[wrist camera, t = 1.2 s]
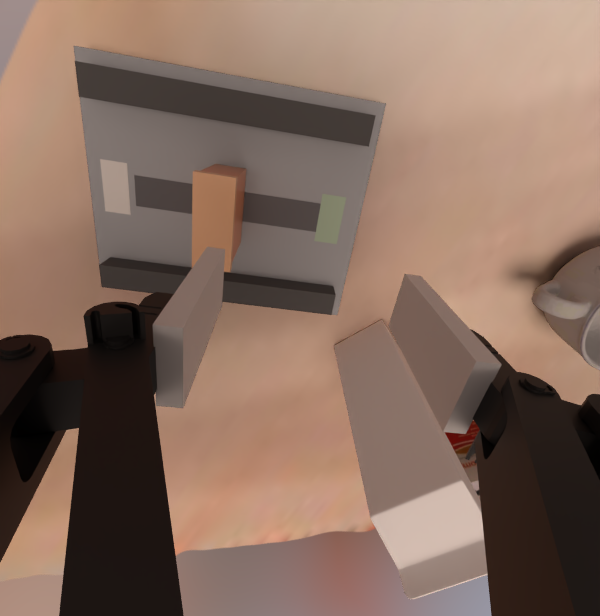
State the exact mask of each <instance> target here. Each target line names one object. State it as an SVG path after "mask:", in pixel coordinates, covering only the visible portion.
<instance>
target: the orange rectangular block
mask: <svg viewBox="0 0 600 616" xmlns="http://www.w3.org/2000/svg"><path fill="white" fill-rule="evenodd" d="M245 181H246V169H245V168H239V167H232V166H226V165H220V164H214V165H212V166H210V167H207V168H205V169H203V170H201V171H199V170H195V171H193V186H192V268H193V266H194V265H195V263H196V262H197V261H198V259H199V258H200V256H201V255H202V253H203V252H204V251H205V249H206V248H207V247H213V248H220V249H225V262H224V272H230V271H231V269H232V262H233V260H234V257H235V255H236V252H237V250H238V248H239V245H240V243H241V233H242V220H243V207H244V194H245Z"/></svg>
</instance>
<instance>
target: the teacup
mask: <svg viewBox="0 0 600 616" xmlns="http://www.w3.org/2000/svg"><path fill="white" fill-rule="evenodd" d="M532 302H533V303H534V304H535V305H536V306H537V307H538V308H539V309H541V310H542V311H544V314H545V317H546V319H547V322H548V323H549V325H550V326H551V328H552V329H553V330H554V331H555V332H556V333H557V334H558V335H559V336H560V337H561V338H562V339H563V340H564V341H565V342H566V343H567V344H568V345H570V346H571V347H572V348H573V349H574V350H575V351H577V352H578V353H579V354H580V355H581V356H582V357H583V358H584V360H585V361H586V362H587V363H588V364H589V365H591V366H592V367H594V368H596V369H598V370H600V246H598V247H595V248H592V249H590V250H587V251H585V252H583V253H581V254H580V255H578V256H576V257H575V258H573V259H572V260H571V261H569V262H568V263H567V264H566V265H564V266H563V267H562V268H561V269H560V270H559V271H558V272H557V274H556V275H555V276H554V278H553V279H552V281H548V282H546V283H545V284H543V285H540V286H539V287H538V288H537V289H536V290H535V291H534V294H533V296H532Z"/></svg>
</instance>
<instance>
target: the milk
mask: <svg viewBox="0 0 600 616" xmlns="http://www.w3.org/2000/svg"><path fill="white" fill-rule="evenodd" d="M334 349H335V354H336V358H337V363H338V368H339V373H340V377H341V382H342V387H343V391H344V396H345V401H346V405H347V410H348V415H349V419H350V424H351V429H352V433H353V438H354V443H355V448H356V452H357V457H358V462H359V466H360V471H361V476H362V480H363V485H364V490H365V494H366V499H367V504H368V508H369V513H370V517H371V520H372V522H373V524H374V526H375V527H376V529H377V531H378V533H379V535H380V537H381V539H382V540H383V542H384V544H385V546H386V548H387V550H388V551H389V553H390V555H391V557H392V559H393V561H394V562H395V564H396V566H397V568H398V570H399V573H400V577H401V581H402V585H403V589H404V593H405V595H406V596H407V597H408V598H409V599H411V600H412V599H416V598H419V597H422V596H425V595H428V594H431V593H434V592H437V591H440V590H443V589H446V588H449V587H452V586H455V585H458V584H461V583H464V582H467V581H470V580H473V579H476V578H479V577H482V576H485V575H488V574H487V563H486V553H485V543H484V533H483V523H482V512H481V502H480V499H479V497H478V495H477V493H476V491H475V490H474V488H473V486H472V484H471V482H470V480H469V478H468V476H467V474H466V472H465V470H464V468H463V466H462V465H461V463H460V461H459V459H458V457H457V455H456V453H455V451H454V449H453V447H452V445H451V443H450V442H449V440H448V438H447V436H446V434H445V432H443V431H442V429H441V427H440V425H439V423H438V421H437V419H436V417H435V415H434V413H433V412H432V410H431V408H430V406H429V404H428V402H427V400H426V398H425V396H424V394H423V392H422V390H421V388H420V386H419V384H418V382H417V380H416V378H415V377H414V375H413V373H412V371H411V369H410V367H409V365H408V363H407V361H406V359H405V357H404V355H403V353H402V351H401V349H400V347H399V346H398V344H397V343H396V341H395V339H394V338H393V336H392V335H391V333H390V331H389V330H388V328H387V327H386V325H385V323H384V322H383V320H380V321H378V322H376V323H374V324H372V325H371V326H369V327H367V328H365V329H363V330H361V331H360V332H358V333H356V334H354V335H352V336H351V337H349V338H347V339H345V340H343V341H341V342H340V343H338V344H336V345H334Z"/></svg>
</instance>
